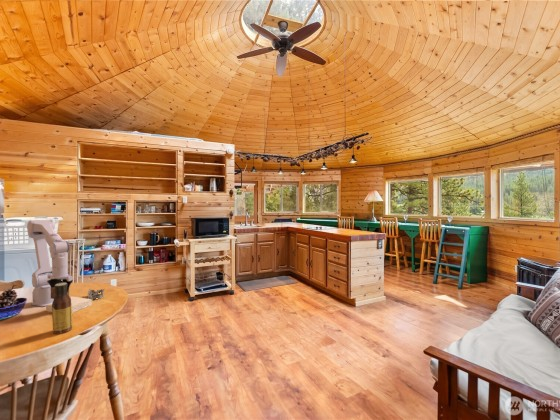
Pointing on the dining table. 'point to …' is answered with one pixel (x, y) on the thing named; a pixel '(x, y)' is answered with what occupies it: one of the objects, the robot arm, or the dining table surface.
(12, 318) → the dining table surface
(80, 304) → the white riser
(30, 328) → the dining table surface
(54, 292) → the walnut cube
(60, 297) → the sauce bottle
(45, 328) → the dining table surface
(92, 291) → the egg carton
